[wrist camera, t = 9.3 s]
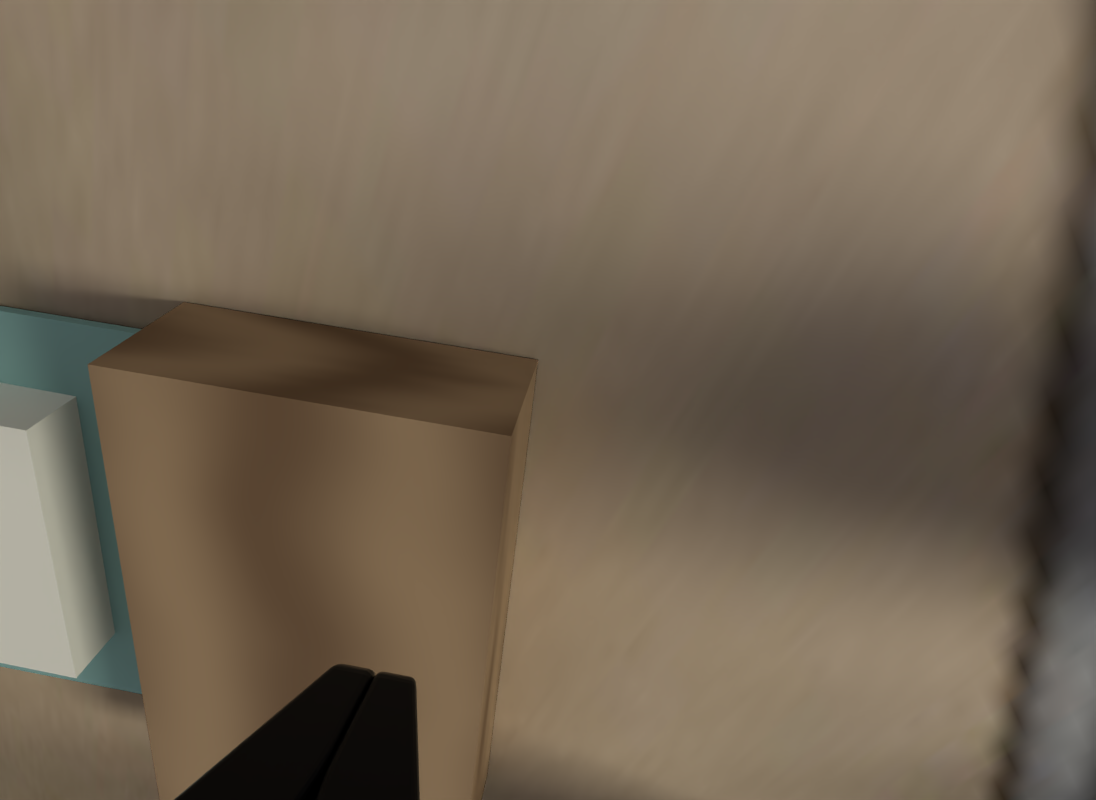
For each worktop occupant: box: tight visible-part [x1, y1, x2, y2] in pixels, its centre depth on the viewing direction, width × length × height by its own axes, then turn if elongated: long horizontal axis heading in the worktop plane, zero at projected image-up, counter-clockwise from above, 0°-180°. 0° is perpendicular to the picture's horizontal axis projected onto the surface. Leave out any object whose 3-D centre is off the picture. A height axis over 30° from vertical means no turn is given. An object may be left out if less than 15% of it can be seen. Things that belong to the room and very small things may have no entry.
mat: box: [0, 306, 142, 694], centre depth 25 cm, size 9×14×1 cm, turn 173°
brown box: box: [88, 302, 538, 800], centre depth 23 cm, size 10×16×4 cm, turn 173°
